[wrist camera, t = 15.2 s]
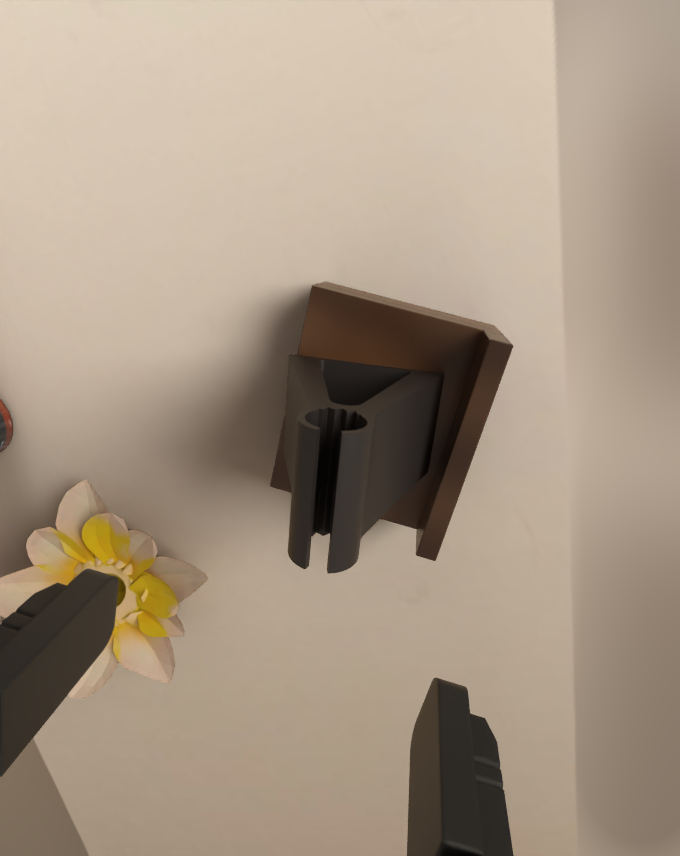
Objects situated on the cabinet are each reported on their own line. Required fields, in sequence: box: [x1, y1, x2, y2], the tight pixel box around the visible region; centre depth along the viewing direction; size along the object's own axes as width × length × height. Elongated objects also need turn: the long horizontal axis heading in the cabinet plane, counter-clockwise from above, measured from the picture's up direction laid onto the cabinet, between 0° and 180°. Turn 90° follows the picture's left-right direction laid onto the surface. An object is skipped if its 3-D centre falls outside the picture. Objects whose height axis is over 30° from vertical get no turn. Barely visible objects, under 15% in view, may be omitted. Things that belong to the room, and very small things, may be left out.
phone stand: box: [283, 355, 444, 573], centre depth 25 cm, size 9×6×12 cm, turn 84°
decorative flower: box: [0, 480, 208, 698], centre depth 37 cm, size 15×11×10 cm
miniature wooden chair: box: [270, 282, 513, 561], centre depth 31 cm, size 13×11×7 cm
